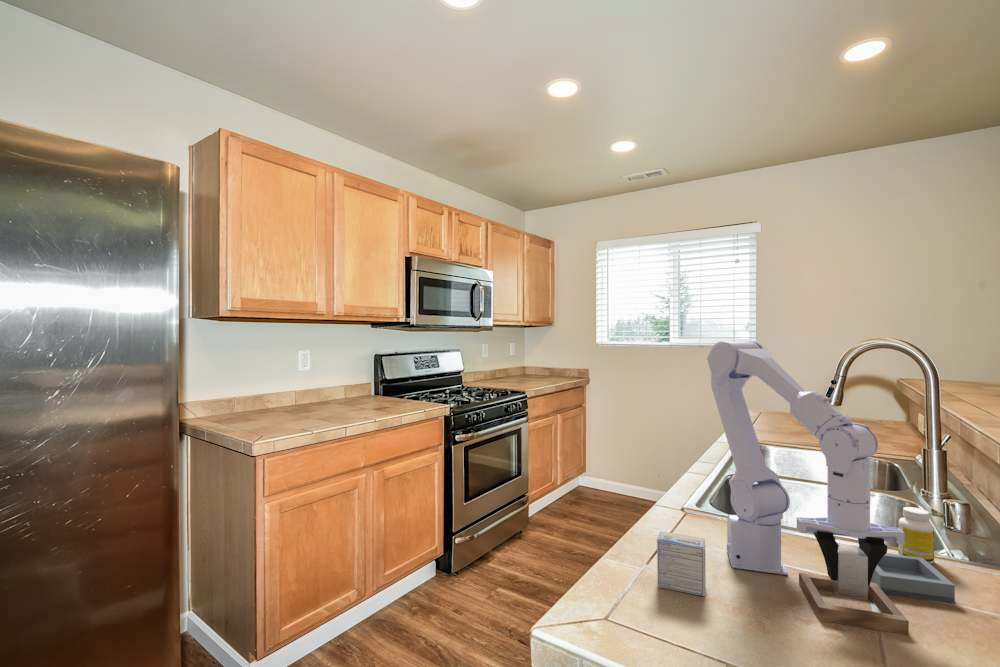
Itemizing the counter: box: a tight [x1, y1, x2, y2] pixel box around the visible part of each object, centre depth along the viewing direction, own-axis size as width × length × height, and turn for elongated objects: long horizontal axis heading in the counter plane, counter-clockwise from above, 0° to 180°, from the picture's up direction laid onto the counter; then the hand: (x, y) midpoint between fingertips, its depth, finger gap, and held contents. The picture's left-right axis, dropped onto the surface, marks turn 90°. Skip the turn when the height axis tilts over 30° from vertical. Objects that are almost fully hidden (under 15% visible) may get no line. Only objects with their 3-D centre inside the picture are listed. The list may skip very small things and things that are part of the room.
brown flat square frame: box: [798, 572, 910, 635], centre depth 79 cm, size 12×12×2 cm
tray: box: [871, 552, 956, 604], centre depth 86 cm, size 10×10×3 cm
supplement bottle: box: [897, 506, 935, 565], centre depth 96 cm, size 5×5×10 cm
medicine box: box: [656, 530, 707, 597], centre depth 85 cm, size 8×4×9 cm, turn 65°
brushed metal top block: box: [830, 543, 869, 601], centre depth 79 cm, size 4×4×7 cm
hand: (848, 579), depth 79 cm, fingers closed on brushed metal top block, 4 cm apart
